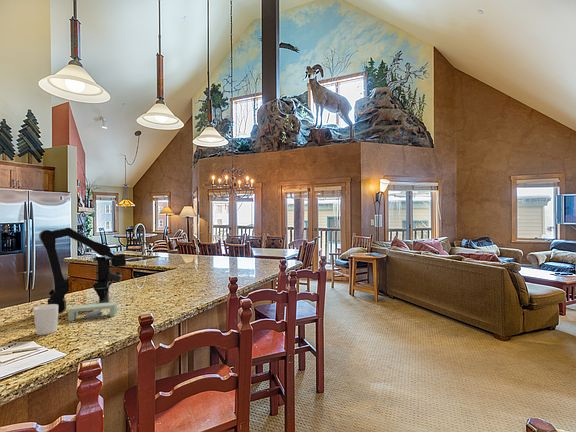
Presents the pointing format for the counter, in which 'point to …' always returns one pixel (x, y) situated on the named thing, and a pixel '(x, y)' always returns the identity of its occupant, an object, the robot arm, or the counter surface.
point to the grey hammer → (106, 300)
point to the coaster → (93, 315)
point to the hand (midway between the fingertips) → (104, 298)
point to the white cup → (46, 319)
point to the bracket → (74, 309)
